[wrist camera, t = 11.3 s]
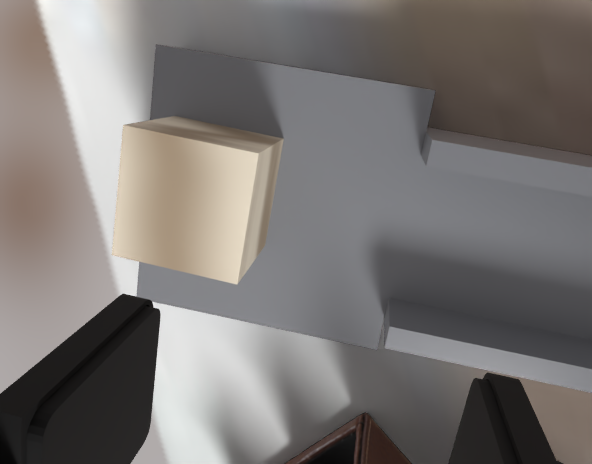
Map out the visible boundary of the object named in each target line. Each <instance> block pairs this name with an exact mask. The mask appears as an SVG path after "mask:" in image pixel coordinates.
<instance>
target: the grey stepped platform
mask: <svg viewBox="0 0 592 464" xmlns="http://www.w3.org/2000/svg"><path fill="white" fill-rule="evenodd" d="M434 95H435V90H431V89H425V88H419V87H413V86H407V85H401V84H395V83H389V82H382V81H376V80H370V79H364V78H358V77H352V76H346V75H340V74H334V73H328V72H322V71H316V70H310V69H304V68H298V67H291V66H285V65H279V64H273V63H267V62H261V61H255V60H249V59H243V58H237V57H231V56H225V55H219V54H213V53H207V52H200V51H194V50H188V49H182V48H176V47H169V46H163V45H156V52H155V65H154V78H153V91H152V104H151V117H150V120H154V119H160V118H166V117H171V116H177V117H182V118H187V119H192V120H197V121H201V122H206V123H211V124H216V125H221V126H226V127H231V128H235V129H240V130H245V131H250V132H255V133H260V134H264V135H269V136H274V137H279V138H284V141H283V146H282V152H281V158H280V163H279V169H278V175H277V181H276V186H275V192H274V198H273V203H272V209H271V215H270V220H269V226H268V232H267V237H266V243H265V246H264V248H263V249H262V251H261V252H260V253H259V255H258V256H257V258H256V259H255V260H254V262H253V263H252V265H251V266H250V267H249V269H248V270H247V272H246V273H245V274H244V276H243V277H242V279H241V280H240V281H239V283H238V284H233V283H228V282H224V281H220V280H216V279H211V278H207V277H203V276H199V275H194V274H190V273H186V272H182V271H177V270H173V269H169V268H165V267H160V266H156V265H152V264H148V263H143V262H139V273H138V286H137V297H140V298H144V299H149V300H151V301H153V302H157V303H162V304H167V305H171V306H176V307H180V308H185V309H190V310H194V311H199V312H204V313H208V314H213V315H217V316H222V317H227V318H231V319H236V320H241V321H245V322H250V323H254V324H259V325H264V326H268V327H273V328H277V329H282V330H287V331H291V332H296V333H301V334H305V335H310V336H314V337H319V338H324V339H328V340H333V341H338V342H342V343H347V344H351V345H356V346H361V347H365V348H370V349H374V350H377V348H378V344H379V340H380V335H381V331H382V326H383V322H384V342H385V348H386V349H390V350H395V351H400V352H404V353H409V354H414V355H418V356H423V357H427V358H432V359H437V360H441V361H446V362H451V363H455V364H460V365H464V366H469V367H474V368H478V369H483V370H488V371H492V372H497V373H502V374H506V375H511V376H515V377H520V378H525V379H529V380H534V381H539V382H543V383H548V384H552V385H557V386H562V387H566V388H571V389H576V390H580V391H585V392H590V393H592V156H591V155H586V154H580V153H574V152H568V151H562V150H556V149H551V148H545V147H539V146H533V145H527V144H522V143H516V142H510V141H504V140H498V139H493V138H487V137H481V136H475V135H469V134H464V133H458V132H452V131H446V130H440V129H434V128H429V127H428V122H429V118H430V113H431V109H432V104H433V100H434Z"/></svg>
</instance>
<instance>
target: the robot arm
mask: <svg viewBox="0 0 592 464" xmlns="http://www.w3.org/2000/svg"><path fill="white" fill-rule="evenodd" d="M159 325H160V310H159V309H157V308H153V303H152V301H151V300H149V299H144V298H140V297H135V296H131V295H126V294H122V295H120V296H119V297H118V298H116V299H115V300H114V301H113V302H112V303H111V304H109V305H108V306H107V307H106V308H104V309H103V310H102V311H101V312H99V313H98V314H97V315H96V316H95V317H93V318H92V319H91V320H90V321H88V322H87V323H86V324H85V325H84V326H82V327H81V328H80V329H79V330H78V331H77V332H75V333H74V334H73V335H72V336H70V337H69V338H68V339H67V340H65V341H64V342H63V343H62V344H60V345H59V346H58V347H57V348H56V349H54V350H53V351H52V352H51V353H50V354H48V355H47V356H46V357H45V358H43V359H42V360H41V361H40V362H39V363H37V364H36V365H35V366H34V367H32V368H31V369H30V370H29V371H28V372H26V373H25V374H24V375H23V376H22V377H20V378H19V379H18V380H17V381H15V382H14V383H13V384H12V385H11V386H9V387H8V388H7V389H6V390H4V391H3V392H2V393H1V394H0V464H130V463H131V462H132V460H133V459H134V457H135V456H136V454H137V453H138V451H139V450H140V448H141V447H142V445H143V443H144V442H145V440H146V437H147V435H148V432H149V428H150V423H151V412H152V402H153V391H154V380H155V369H156V358H157V347H158V336H159ZM449 464H562V463H561V462H559V461H556V459H555V457H554V454H553V452H552V450H551V448H550V446H549V443H548V441H547V439H546V437H545V434H544V432H543V430H542V428H541V426H540V423H539V421H538V419H537V417H536V415H535V412H534V410H533V408H532V406H531V404H530V401H529V399H528V397H527V395H526V392H525V390H524V388H523V386H522V384H521V382H520V380H519V379H514V378H510V377H505V376H500V375H496V374H491V373H487V374H485V376H484V378H483V379H478V378H475V379H474V380H473V382H472V384H471V387H470V391H469V394H468V398H467V401H466V405H465V408H464V412H463V415H462V418H461V422H460V425H459V429H458V432H457V436H456V439H455V443H454V446H453V450H452V453H451V457H450V460H449Z"/></svg>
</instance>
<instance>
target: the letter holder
mask: <svg viewBox="0 0 592 464" xmlns="http://www.w3.org/2000/svg"><path fill="white" fill-rule="evenodd" d="M285 464H412V463H411V462H410V461H409V460H408V459H407V458H406V457H405V456H404V454H403V453H402V452H401V451H400V450H399V449H398V448H397V447H396V446H395V444H394V443H393V442H392V441H391V440H390V439H389V438H388V437H387V435H386V434H385V433H384V432H383V431H382V429H381V428H380V427H379V426H378V425H377V424H376V423H375V422H374V420H373V419H372V418H371V417H370V416H369V414H368V413H364V414H361V415H360V416H357V417H356V418H355V419H353V420H352V421H350V422H348V423H347V424H345V425H344V426H342V427H340V428H339V429H337V430H336V431H334V432H333V433H332V434H329V435H328V436H326V437H325V438H323V439H322V440H321V441H319V442H317V443H316V444H314V445H313V446H311V447H310V448H308V449H307V450H305V451H303V452H302V453H300V454H299V455H298V456H296V457H294V458H292V459H291V460H290V461H288V462H286V463H285Z"/></svg>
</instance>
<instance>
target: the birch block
mask: <svg viewBox="0 0 592 464" xmlns="http://www.w3.org/2000/svg"><path fill="white" fill-rule="evenodd" d="M283 141H284V138H279V137H274V136H269V135H264V134H260V133H255V132H250V131H245V130H240V129H235V128H231V127H226V126H221V125H216V124H211V123H206V122H201V121H197V120H192V119H187V118H182V117H177V116H171V117H166V118H160V119H154V120H149V121H143V122H137V123H132V124H126V125H123V133H122V145H121V156H120V168H119V179H118V190H117V202H116V213H115V225H114V236H113V247H112V255H114V256H118V257H122V258H126V259H131V260H135V261H139V262H143V263H148V264H152V265H156V266H160V267H165V268H169V269H173V270H177V271H182V272H186V273H190V274H194V275H199V276H203V277H207V278H211V279H216V280H220V281H224V282H228V283H233V284H238V283H239V281H240V280H241V279H242V277H243V276H244V274H245V273H246V272H247V270H248V269H249V267H250V266H251V265H252V263H253V262H254V260H255V259H256V258H257V256H258V255H259V253H260V252H261V251H262V249H263V248H264V246H265V243H266V237H267V232H268V226H269V220H270V215H271V209H272V203H273V198H274V192H275V186H276V181H277V175H278V169H279V163H280V158H281V152H282V146H283Z"/></svg>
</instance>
